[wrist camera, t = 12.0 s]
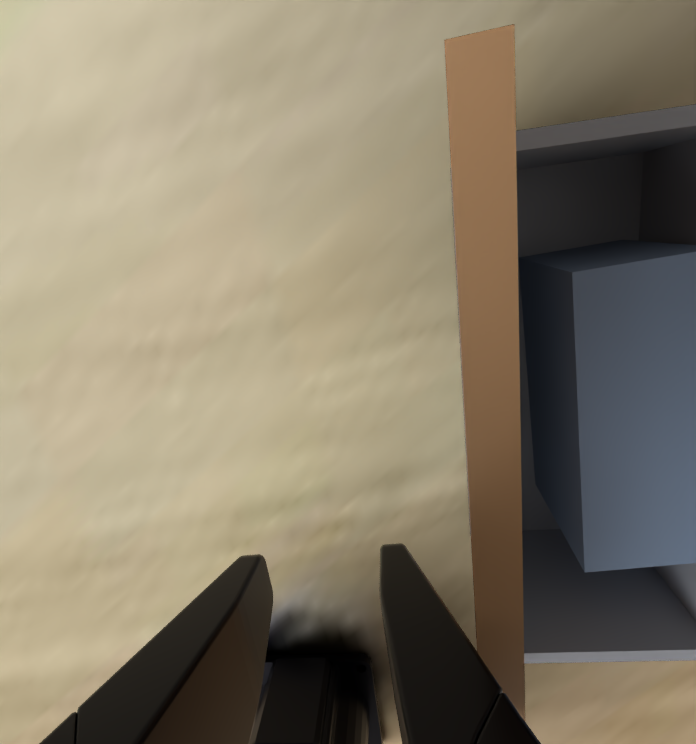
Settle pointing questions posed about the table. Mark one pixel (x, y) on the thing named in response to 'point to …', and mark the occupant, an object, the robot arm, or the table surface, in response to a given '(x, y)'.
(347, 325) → the table surface
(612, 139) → the grey hollow box
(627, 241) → the blue rectangular block
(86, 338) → the table surface
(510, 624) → the tan box lid
